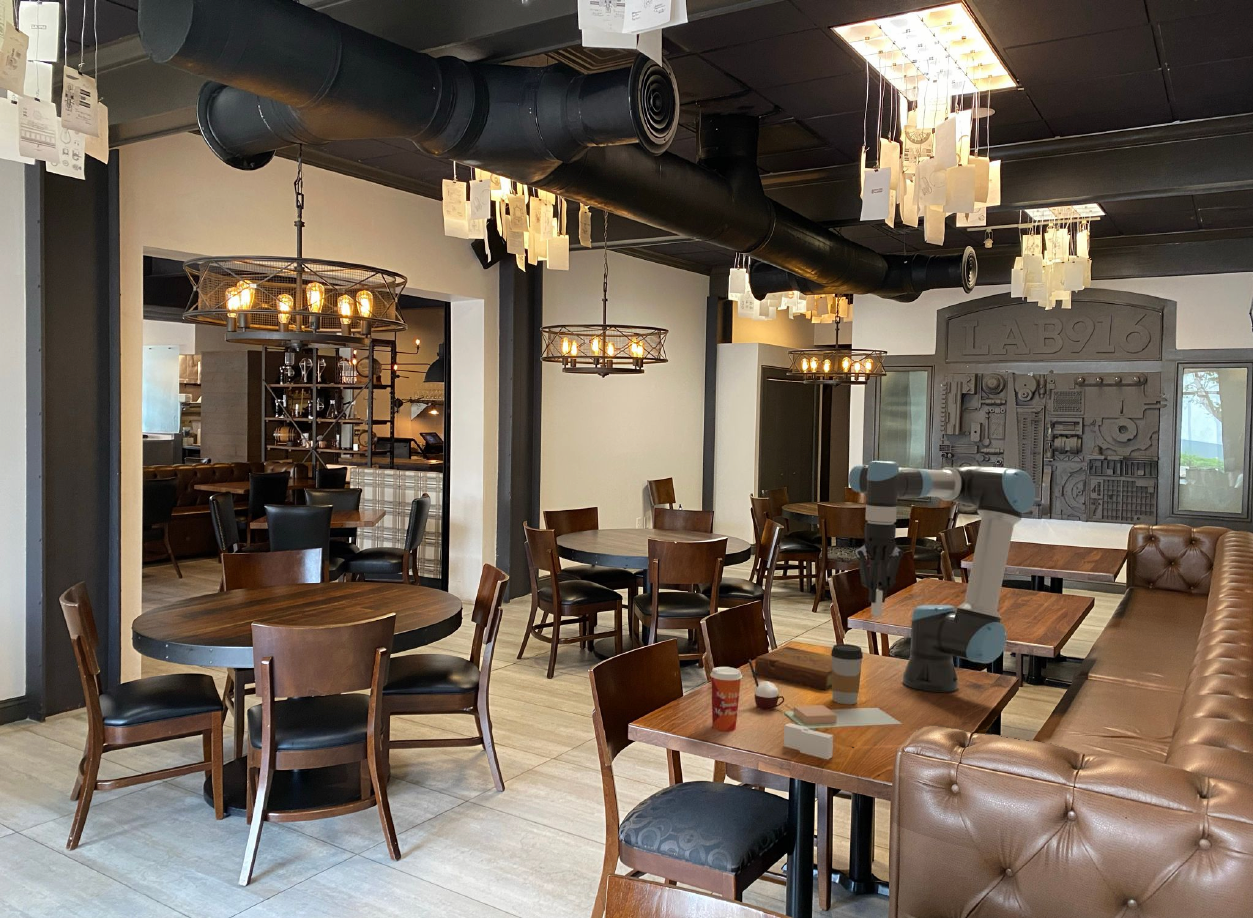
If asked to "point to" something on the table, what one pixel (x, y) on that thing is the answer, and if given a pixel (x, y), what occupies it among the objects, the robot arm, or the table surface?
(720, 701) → the paper cup
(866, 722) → the mat
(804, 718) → the tile
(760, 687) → the cocoa
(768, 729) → the table surface
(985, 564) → the robot arm
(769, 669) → the diary
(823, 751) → the white stepped block
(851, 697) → the coffee cup
